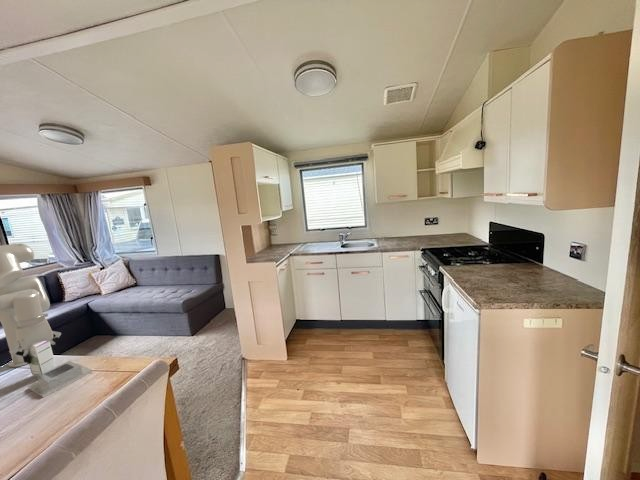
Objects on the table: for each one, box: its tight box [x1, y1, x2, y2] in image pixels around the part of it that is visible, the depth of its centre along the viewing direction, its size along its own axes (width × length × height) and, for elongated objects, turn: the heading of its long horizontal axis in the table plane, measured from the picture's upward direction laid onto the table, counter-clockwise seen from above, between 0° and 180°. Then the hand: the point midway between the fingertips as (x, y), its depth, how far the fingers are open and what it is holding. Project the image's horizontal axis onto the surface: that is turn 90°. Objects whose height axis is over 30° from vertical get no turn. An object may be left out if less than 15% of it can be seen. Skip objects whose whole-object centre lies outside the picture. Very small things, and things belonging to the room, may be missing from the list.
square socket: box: [27, 360, 93, 398], centre depth 110 cm, size 14×16×4 cm
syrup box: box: [28, 341, 57, 376], centre depth 114 cm, size 6×6×14 cm
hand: (40, 357), depth 114 cm, fingers closed on syrup box, 7 cm apart
